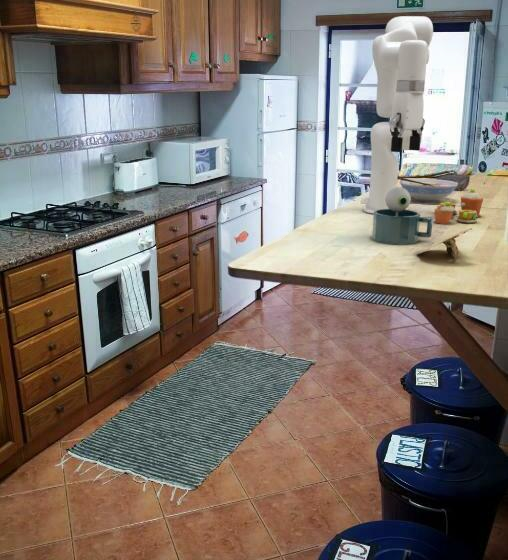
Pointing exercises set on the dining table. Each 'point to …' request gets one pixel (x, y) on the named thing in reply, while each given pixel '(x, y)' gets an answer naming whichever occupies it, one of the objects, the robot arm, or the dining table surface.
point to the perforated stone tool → (457, 180)
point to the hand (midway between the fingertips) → (405, 151)
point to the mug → (399, 227)
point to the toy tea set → (468, 211)
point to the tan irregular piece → (451, 245)
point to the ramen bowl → (428, 188)
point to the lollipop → (398, 199)
